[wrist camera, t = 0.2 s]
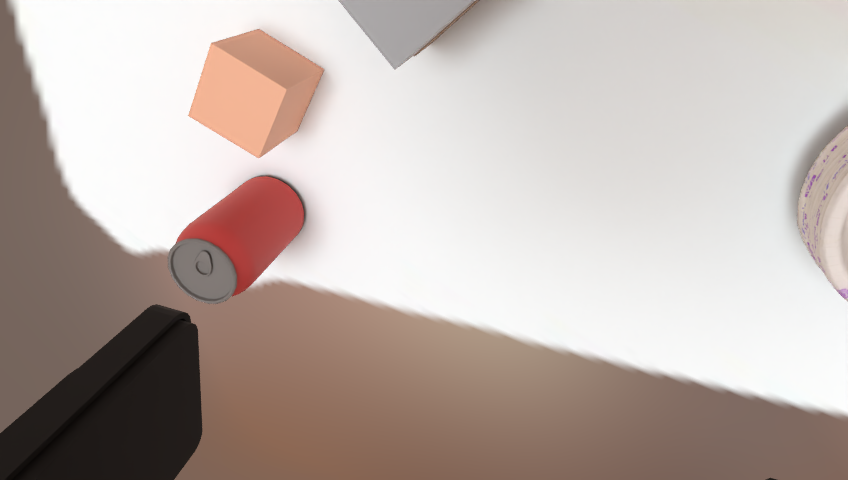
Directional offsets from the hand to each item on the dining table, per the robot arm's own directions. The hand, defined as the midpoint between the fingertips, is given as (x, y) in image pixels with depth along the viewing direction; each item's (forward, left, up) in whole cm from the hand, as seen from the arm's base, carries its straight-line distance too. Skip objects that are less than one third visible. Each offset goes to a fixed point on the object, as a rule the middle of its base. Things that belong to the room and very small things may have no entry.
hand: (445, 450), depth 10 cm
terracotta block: (-5, -21, -37) cm, 43 cm away
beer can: (+5, -27, -37) cm, 46 cm away
